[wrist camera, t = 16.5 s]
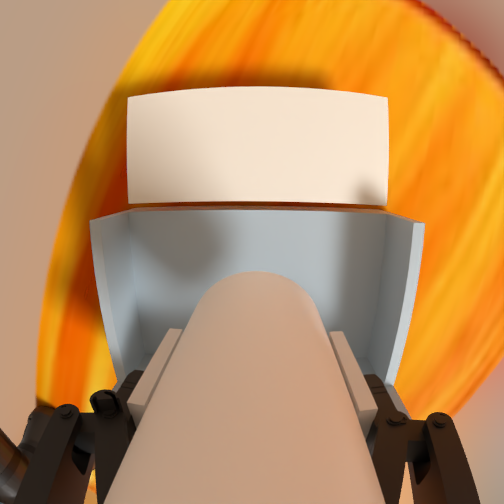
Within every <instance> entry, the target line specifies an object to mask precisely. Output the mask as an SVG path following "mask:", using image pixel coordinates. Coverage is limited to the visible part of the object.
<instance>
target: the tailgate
mask: <svg viewBox="0 0 504 504" xmlns="http://www.w3.org/2000/svg"><path fill="white" fill-rule="evenodd" d="M388 162H389V126H388V99H387V98H386V97H381V96H374V95H368V94H361V93H353V92H345V91H336V90H325V89H313V88H297V87H265V86H250V87H217V88H201V89H189V90H178V91H169V92H161V93H153V94H146V95H140V96H133V97H128V109H127V183H128V203H129V204H135V203H160V202H199V201H282V202H321V203H347V204H367V205H384V206H387V190H388Z"/></svg>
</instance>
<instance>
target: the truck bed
mask: <svg viewBox="0 0 504 504" xmlns="http://www.w3.org/2000/svg"><path fill="white" fill-rule="evenodd" d="M89 222H90V234H91V245H92V254H93V262H94V270H95V277H96V284H97V290H98V296H99V302H100V307H101V313H102V318H103V323H104V328H105V332H106V337H107V341H108V346H109V350H110V354H111V358H112V362H113V366H114V370H115V373H116V377H117V380H118V382H117V383H116V385H115V386H114V388H113V389H112V391H115V392H117V391H118V389H119V388H120V387H121V384H122V383H123V382H124V380H125V378H126V377H127V375H128V374H129V373H131V372H132V371H134V370H142V371H145V369H146V368H147V366H148V364H149V363H150V361H151V359H152V357H153V356H154V354H155V352H156V351H157V349H158V347H159V345H160V344H161V342H162V340H163V339H164V337H165V335H166V334H167V332H168V330H169V329H170V328H172V329H182V331H183V332H184V330H185V328H186V326H187V324H188V322H189V320H190V318H191V316H192V314H193V312H194V310H195V308H196V306H197V304H198V302H199V301H200V299H201V298H202V296H203V295H204V294H205V292H206V291H207V290H208V289H209V288H210V287H212V286H213V285H214V284H216V283H217V282H218V281H220V280H222V279H224V278H226V277H228V276H231V275H233V274H237V273H241V272H247V271H265V272H271V273H275V274H278V275H281V276H284V277H286V278H288V279H290V280H292V281H294V282H295V283H297V284H298V285H299V286H301V287H302V288H303V289H304V290H305V291H306V292H307V293H308V294H309V296H310V297H311V298H312V300H313V302H314V303H315V305H316V308H317V310H318V312H319V315H320V317H321V320H322V323H323V325H324V328H325V330H326V333H327V336H328V338H329V332H333V331H342V332H343V334H344V336H345V338H346V340H347V342H348V344H349V346H350V348H351V350H352V352H353V355H354V357H355V359H356V361H357V363H358V365H359V367H360V370H361V372H362V374H363V375H366V374H375V375H377V376H378V377H379V378H380V379H381V380H382V382H383V384H384V386H385V387H386V389H387V393H389V395H390V397H391V399H392V401H393V403H394V405H395V407H396V409H397V411H401V412H403V413H404V414H406V415H407V416H408V418H409V419H411V417H410V415H409V413H408V412H407V410H406V408H405V406H404V404H403V403H402V401H401V399H400V397H399V395H398V394H397V392H396V390H395V388H394V386H393V385H394V382H395V378H396V375H397V372H398V368H399V365H400V361H401V357H402V354H403V350H404V346H405V342H406V338H407V334H408V329H409V325H410V320H411V316H412V311H413V306H414V301H415V295H416V290H417V284H418V278H419V271H420V264H421V257H422V248H423V239H424V229H425V223H422V222H419V221H416V220H413V219H410V218H407V217H403V216H400V215H397V214H393V213H390V212H386V211H383V210H378V209H358V208H334V207H300V206H176V207H143V208H133V209H130V210H126V211H122V212H118V213H115V214H111V215H107V216H104V217H100V218H97V219H93V220H90V221H89ZM411 420H412V419H411Z"/></svg>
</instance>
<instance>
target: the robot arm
mask: <svg viewBox="0 0 504 504" xmlns="http://www.w3.org/2000/svg"><path fill="white" fill-rule="evenodd" d="M182 334H183V331H182V329H172V328H170V329H169V330H168V332H167V334H166V335H165V337H164V339H163V340H162V342H161V344H160V345H159V347H158V349H157V351H156V352H155V354H154V356H153V357H152V359H151V361H150V363H149V364H148V366H147V368H146V369H145V371H142V370H134V371H132V372H131V373H129V374H128V375H127V377H126V378H125V380H124V382H123V383H122V384H121V387H120V388H119V389H118V391H117V392H115V391H112V390H100V391H97V392H95V393H94V394H93V395H92V396H91V397H90V403H91V405H92V408H93V410H94V413H80V412H79V409H78V408H77V407H76V406H75V405H72V404H64V405H61V406H59V407H57V408H56V409H52V408H49V407H45V406H38V407H36V408H35V409H34V410H33V412H32V413H31V414H30V415H29V418H28V424H27V426H26V429H25V431H24V435H23V439H22V441H21V443H20V444H19V445H18V447H16V446H15V445H14V443H13V442H12V441H11V440H10V439H9V438H8V437H7V435H6V434H5V433H4V432H3V431H2V430H1V428H0V504H84V499H85V495H86V491H87V487H88V483H89V479H90V475H91V472H92V470H94V469H95V475H96V491H97V502H98V504H104V501H105V499H106V497H107V494H108V492H109V490H110V487H111V485H112V483H113V481H114V478H115V476H116V474H117V472H118V469H119V467H120V465H121V463H122V460H123V458H124V456H125V454H126V452H127V449H128V447H129V445H130V443H131V441H132V439H133V436H134V434H135V432H136V430H137V428H138V426H139V423H140V421H141V419H142V417H143V415H144V413H145V411H146V409H147V406H148V404H149V402H150V400H151V398H152V396H153V394H154V392H155V390H156V387H157V385H158V383H159V381H160V379H161V377H162V375H163V373H164V371H165V369H166V367H167V365H168V363H169V361H170V359H171V356H172V354H173V352H174V350H175V348H176V346H177V344H178V342H179V340H180V338H181V336H182ZM329 341H330V343H331V346H332V349H333V351H334V354H335V357H336V359H337V362H338V365H339V367H340V370H341V373H342V375H343V378H344V381H345V384H346V386H347V389H348V392H349V395H350V398H351V400H352V403H353V406H354V409H355V412H356V415H357V417H358V420H359V423H360V426H361V429H362V432H363V435H364V438H365V441H366V444H367V447H368V450H369V453H370V456H371V459H372V462H373V465H374V468H375V472H376V475H377V478H378V481H379V484H380V487H381V491H382V494H383V497H384V501H385V504H399V499H400V493H401V488H402V482H403V476H404V469H405V462H408V468H409V473H410V480H411V486H412V493H413V500H414V504H480V500H479V496H478V493H477V489H476V486H475V483H474V480H473V476H472V473H471V470H470V467H469V464H468V461H467V458H466V455H465V452H464V449H463V447H462V444H461V441H460V438H459V436H458V433H457V430H456V428H455V425H454V423H453V420H452V419H451V417H450V416H448V415H447V414H445V413H442V412H435V413H432V414H430V415H429V416H428V417H427V419H426V420H411V419H409V418H408V416H407V415H406V414H404V413H403V412H401V411H397V409H396V407H395V405H394V403H393V401H392V399H391V397H390V395H389V393H387V389H386V387H385V386H384V384H383V382H382V380H381V379H380V378H379V377H378V376H377V375H375V374H366V375H363V374H362V372H361V370H360V367H359V365H358V363H357V361H356V359H355V357H354V355H353V352H352V350H351V348H350V346H349V344H348V342H347V340H346V338H345V336H344V334H343V332H342V331H333V332H329Z"/></svg>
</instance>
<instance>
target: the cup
mask: <svg viewBox="0 0 504 504" xmlns="http://www.w3.org/2000/svg"><path fill="white" fill-rule="evenodd" d="M104 504H385V501H384V497H383V494H382V491H381V487H380V484H379V481H378V478H377V475H376V472H375V468H374V465H373V462H372V459H371V456H370V453H369V450H368V447H367V444H366V441H365V438H364V435H363V432H362V429H361V426H360V423H359V420H358V417H357V415H356V412H355V409H354V406H353V403H352V400H351V398H350V395H349V392H348V389H347V386H346V384H345V381H344V378H343V375H342V373H341V370H340V367H339V365H338V362H337V359H336V357H335V354H334V351H333V349H332V346H331V343H330V341H329V338H328V336H327V333H326V330H325V328H324V325H323V323H322V320H321V317H320V315H319V312H318V310H317V308H316V305H315V303H314V302H313V300H312V298H311V297H310V296H309V294H308V293H307V292H306V291H305V290H304V289H303V288H302V287H301V286H299V285H298V284H297V283H295V282H294V281H292V280H290V279H288V278H286V277H284V276H281V275H278V274H275V273H271V272H265V271H247V272H241V273H237V274H233V275H231V276H228V277H226V278H224V279H222V280H220V281H218V282H217V283H216V284H214V285H213V286H212V287H210V288H209V289H208V290H207V291H206V292H205V294H204V295H203V296H202V298H201V299H200V301H199V302H198V304H197V306H196V308H195V310H194V312H193V314H192V316H191V318H190V320H189V322H188V324H187V326H186V328H185V330H184V332H183V334H182V336H181V338H180V340H179V342H178V344H177V346H176V348H175V350H174V352H173V354H172V356H171V359H170V361H169V363H168V365H167V367H166V369H165V371H164V373H163V375H162V377H161V379H160V381H159V383H158V385H157V387H156V390H155V392H154V394H153V396H152V398H151V400H150V402H149V404H148V406H147V409H146V411H145V413H144V415H143V417H142V419H141V421H140V423H139V426H138V428H137V430H136V432H135V434H134V436H133V439H132V441H131V443H130V445H129V447H128V449H127V452H126V454H125V456H124V458H123V460H122V463H121V465H120V467H119V469H118V472H117V474H116V476H115V478H114V481H113V483H112V485H111V487H110V490H109V492H108V494H107V497H106V499H105V501H104Z"/></svg>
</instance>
